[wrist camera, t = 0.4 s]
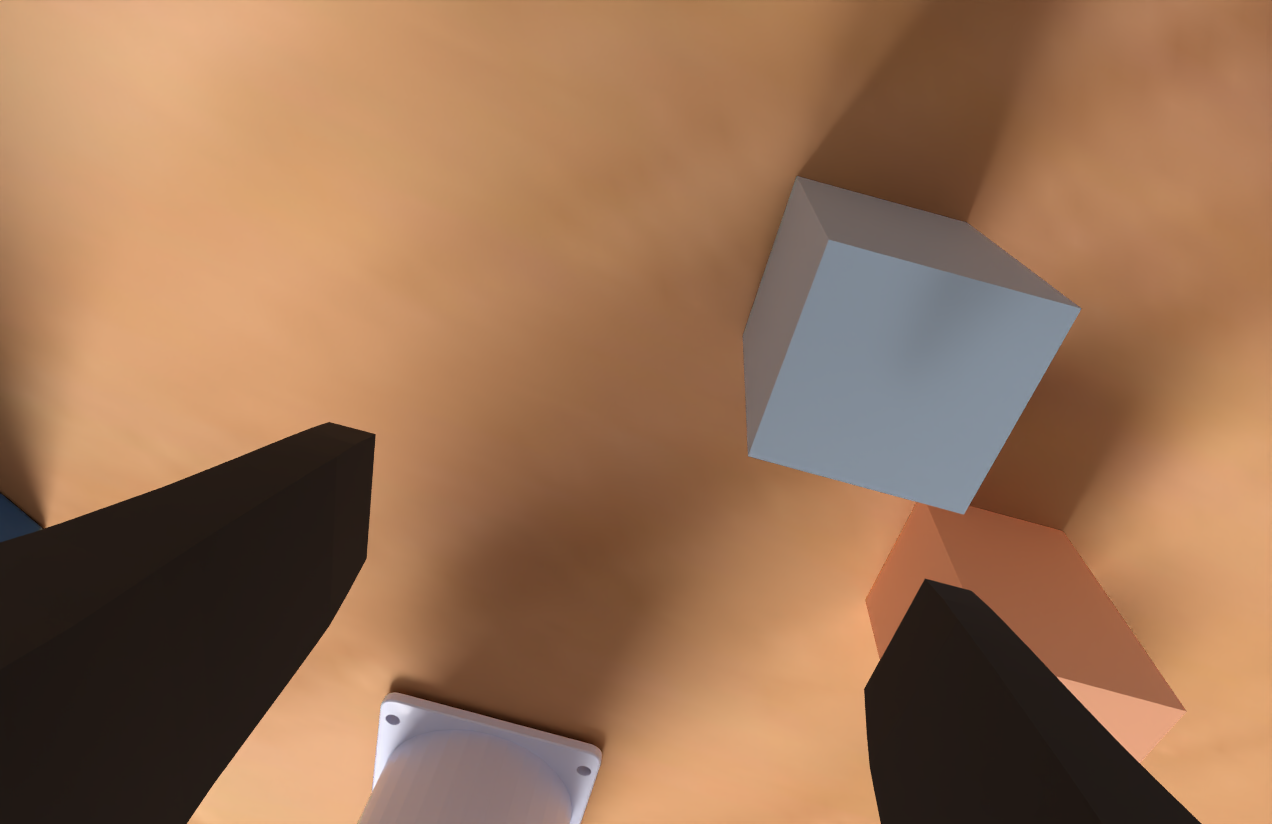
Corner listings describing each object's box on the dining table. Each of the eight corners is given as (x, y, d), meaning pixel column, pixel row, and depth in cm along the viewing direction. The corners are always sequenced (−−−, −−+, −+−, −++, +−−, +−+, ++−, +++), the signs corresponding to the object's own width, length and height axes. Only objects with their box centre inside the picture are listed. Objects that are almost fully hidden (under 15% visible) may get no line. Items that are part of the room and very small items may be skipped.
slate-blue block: (895, 376, 18) (963, 514, 13) (742, 335, 18) (748, 456, 13) (966, 222, 16) (1082, 308, 11) (796, 175, 16) (829, 239, 11)
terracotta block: (994, 634, 21) (1081, 828, 16) (865, 599, 21) (909, 782, 16) (1062, 530, 20) (1186, 711, 14) (921, 492, 20) (993, 659, 14)
